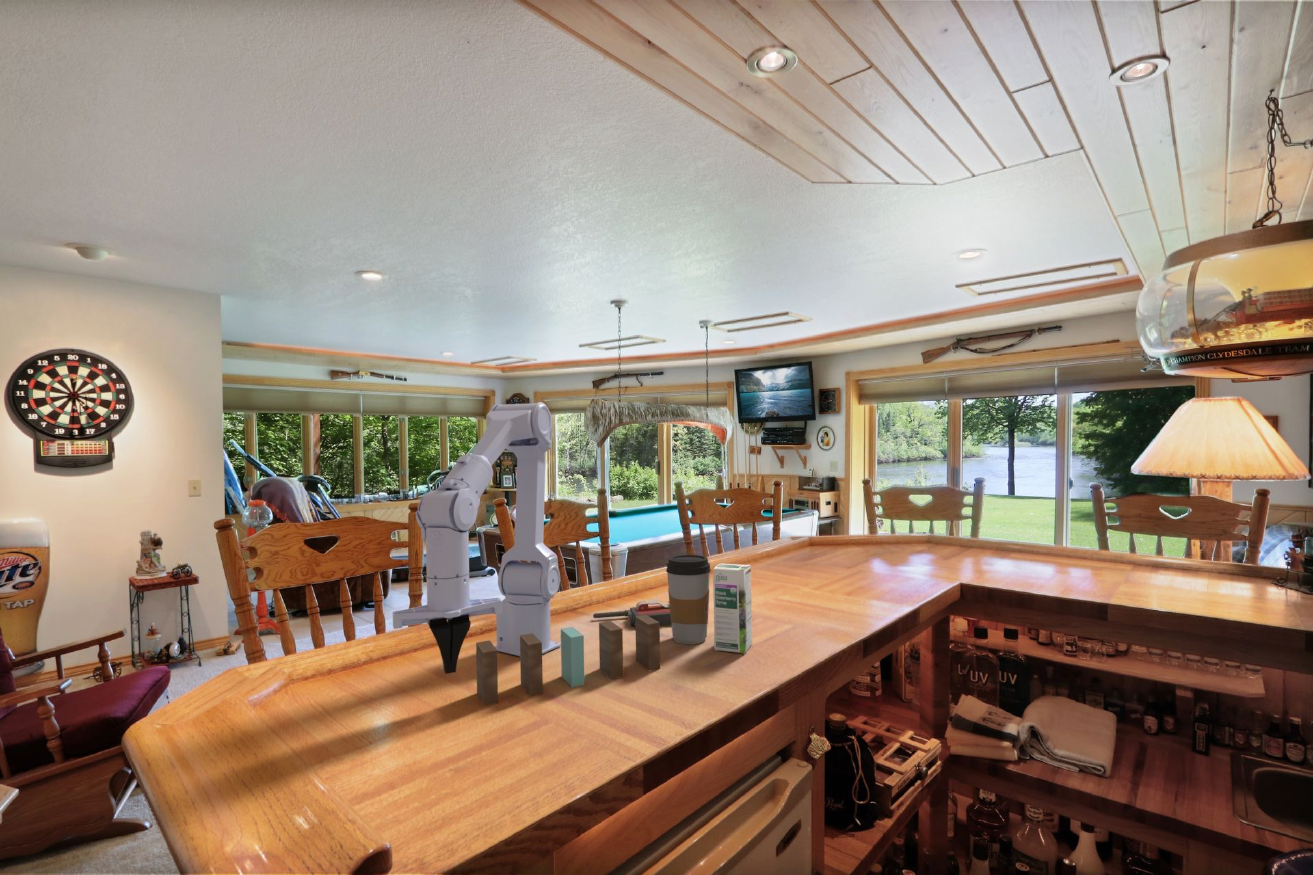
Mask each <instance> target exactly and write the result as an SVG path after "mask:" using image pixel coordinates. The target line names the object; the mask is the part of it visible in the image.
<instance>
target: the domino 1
mask: <svg viewBox="0 0 1313 875" xmlns="http://www.w3.org/2000/svg"><path fill="white" fill-rule="evenodd" d="M475 644H476V645H475V646H476V649H475V650H476V652H475V654H476V659H475V660H476V694H477V696H478V698H479V700H480V699H481V700H480V702H481V701H482V702H481V704H482V705H483V707H486V706H490V705H495V704H499V686H498V685H499V684H498V683H499V682H498V677H499V676H498V673H499V672H498V651H497V649H496V648H495V645H494V644H493V642H492V641H491V640H490V639H489V640H484V641H483V640H482V641H478V642H476V643H475Z"/></svg>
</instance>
